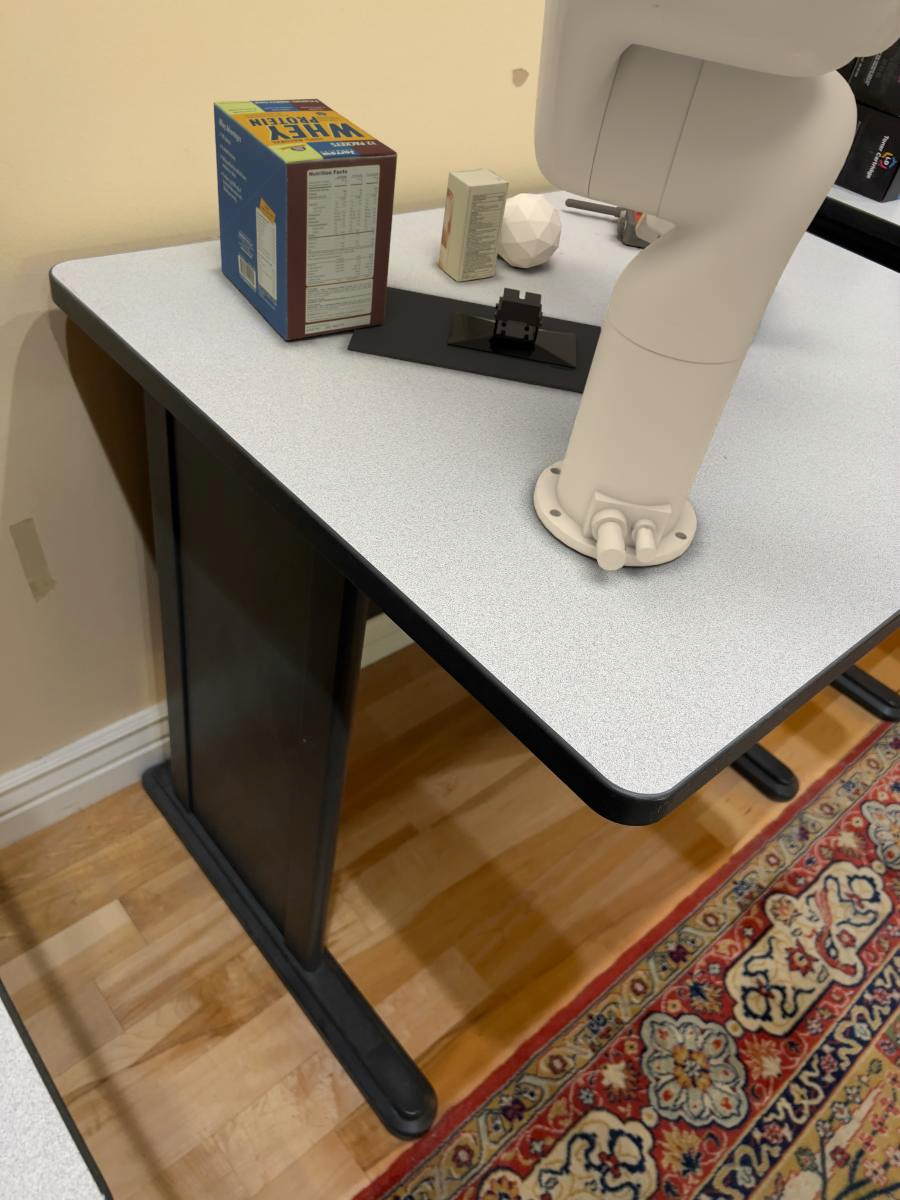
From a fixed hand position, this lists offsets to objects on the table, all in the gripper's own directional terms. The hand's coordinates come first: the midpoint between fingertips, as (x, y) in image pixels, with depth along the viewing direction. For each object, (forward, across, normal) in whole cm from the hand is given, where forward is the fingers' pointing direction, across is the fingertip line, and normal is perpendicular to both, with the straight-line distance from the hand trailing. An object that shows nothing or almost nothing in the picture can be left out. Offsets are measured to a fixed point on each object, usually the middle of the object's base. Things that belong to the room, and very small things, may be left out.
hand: (671, 308), depth 83 cm
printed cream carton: (+7, -20, +15) cm, 26 cm away
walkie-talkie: (+7, +1, +36) cm, 36 cm away
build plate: (+6, -14, 0) cm, 15 cm away
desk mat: (+6, -17, 0) cm, 18 cm away
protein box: (+6, -35, +1) cm, 36 cm away
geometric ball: (+7, -14, +20) cm, 25 cm away
